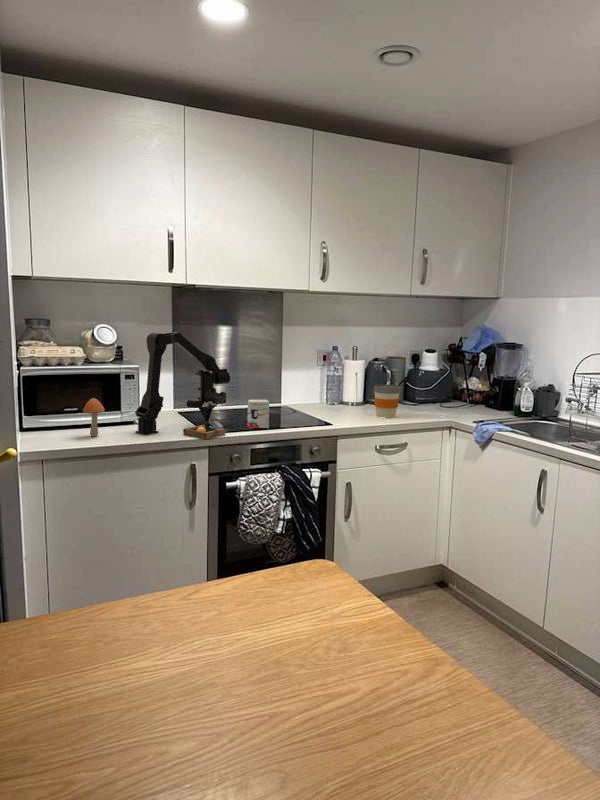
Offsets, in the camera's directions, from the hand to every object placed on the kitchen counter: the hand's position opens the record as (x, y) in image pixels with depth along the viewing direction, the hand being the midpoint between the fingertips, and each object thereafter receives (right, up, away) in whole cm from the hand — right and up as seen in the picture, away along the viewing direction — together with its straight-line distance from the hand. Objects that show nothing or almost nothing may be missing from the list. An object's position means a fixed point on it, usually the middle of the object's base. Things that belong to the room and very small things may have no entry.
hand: (206, 421), depth 246 cm
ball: (+1, -3, -21) cm, 21 cm away
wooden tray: (+2, -5, -20) cm, 20 cm away
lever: (+5, -2, -7) cm, 9 cm away
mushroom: (-39, -5, -26) cm, 47 cm away
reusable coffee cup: (+82, +1, +31) cm, 88 cm away
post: (+4, -2, -4) cm, 6 cm away
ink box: (+22, -3, -3) cm, 23 cm away
